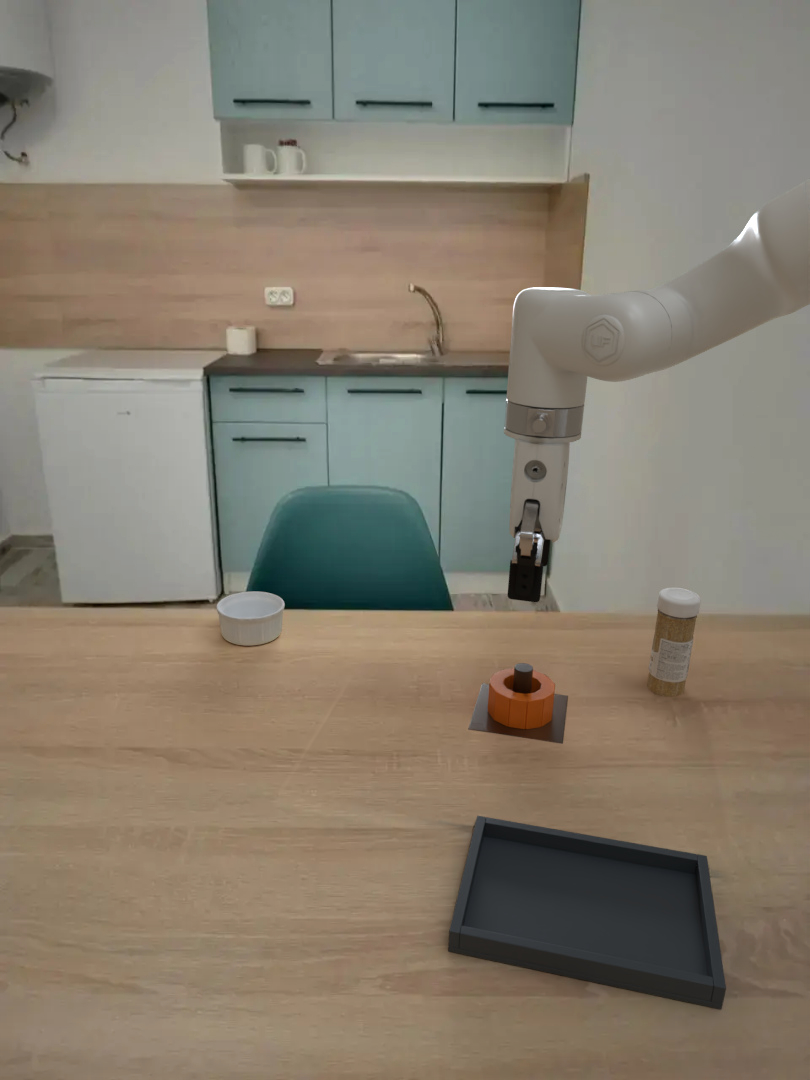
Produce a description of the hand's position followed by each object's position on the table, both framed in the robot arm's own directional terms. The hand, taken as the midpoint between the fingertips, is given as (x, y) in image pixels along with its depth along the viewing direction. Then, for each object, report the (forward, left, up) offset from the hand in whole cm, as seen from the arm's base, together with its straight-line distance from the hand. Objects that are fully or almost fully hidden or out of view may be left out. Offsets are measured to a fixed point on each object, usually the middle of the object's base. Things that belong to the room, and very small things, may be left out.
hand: (528, 580), depth 87 cm
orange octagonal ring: (0, +1, -15) cm, 15 cm away
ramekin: (+37, -11, -17) cm, 42 cm away
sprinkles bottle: (-16, -9, -17) cm, 25 cm away
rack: (0, +1, -17) cm, 17 cm away
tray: (-8, +27, -17) cm, 33 cm away
